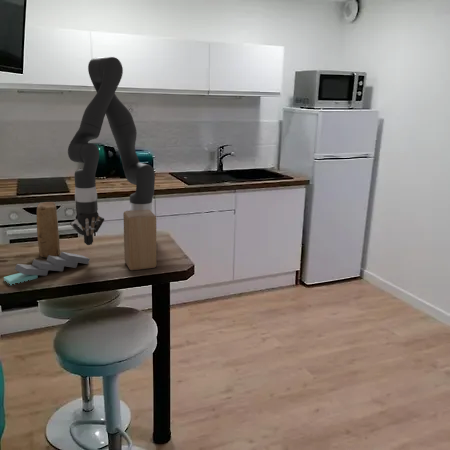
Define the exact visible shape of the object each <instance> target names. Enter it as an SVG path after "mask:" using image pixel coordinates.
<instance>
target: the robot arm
mask: <svg viewBox="0 0 450 450" xmlns="http://www.w3.org/2000/svg"><path fill="white" fill-rule="evenodd" d="M123 68H124V67H123V64H122V62H121V61H120V59H118V58H117V57H115V56H101V57H94V58H91V59H90V60H89V62H88V66H87V70H88V71H87V72H88V75H89V78H90V80H91V83H92V85H93V88H94V89H95V92H96V94H95V95H94V97H93V98H92V99H91V101H90V102H89V103H88V105H87V106H86V107H85V109H84V112H83V114H82V118H81V122H80V125H79V128H78V129H77V130H76V132H75V134H74V136H73V137H72V139H71V141H70V143H69V145H68V147H67V148H68V149H67V155H68V158H69V160H70V161H72V162H74V163H82V164H83V167H82V168H80V169H77V170H75V172H74V200H75V203H74V204H75V213H76V214H75V215H76V216H75V219H74V220H73V221H71V222H70V223H69V225H70V226H71V227H72V228H73V229H74V230H75V231H76V232H77V234H79V235H81V236H83V243H84V244H86V245H87V246H91V245H93V243H94V234H95V233H98V232H99V230H100V229H101V226H102V225H103V223H104V222H105V218H104V217H102V216H100V214H99V213H98V209H99V208H98V207H99V206H98V192H97V188H96V186H97V184H96V172H97V168H98V164H99V159H100V151H99V148H98V146H97V145H96V144H94V143H92V142H90V141H92V140H95V139H96V140H97V139H98V138H99V137H100V134H101V130H102V127H103V123H104V120H105V116H106V119H107V122H108V125H109V128H110V131H111V133H112V136H113V138H114V140H115V141H114V142H115V144H116V148H117V149H118V153H119V155H120V160H121V164H122V169H123V171H124V172H123V173H124V177H125V178H126V180H127V181H128V182H129V184H131V185H136V186H135V192H133V193H131V194H130V195H129V211H131V210H146V209H148V210H150V211H151V212H152V213H153V198H154V194H155V180H156V179H155V178H156V177H155V175H156V174H155V170H154V168H153V167H152V165H150V164H147V163H144V162H143V163H142V162H141V161H140V160H139V157H138V155H137V152H136V151H137V150H136V140H137V136H138V135H137V133H138V132H137V128H136V127H137V126H136V124H135V122H134V118H133V116H132V113H131V111H130V110H129V109H128V108H127V106H126V105H125V103H123V102H122V101H121V100H120V99H119V97H117V95H116V94H115V93H116V91H117V90H118V87H119V84H120V82H121V80H122V78H123V73H124V72H123V71H124V69H123ZM80 226H81V227H80Z"/></svg>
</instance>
